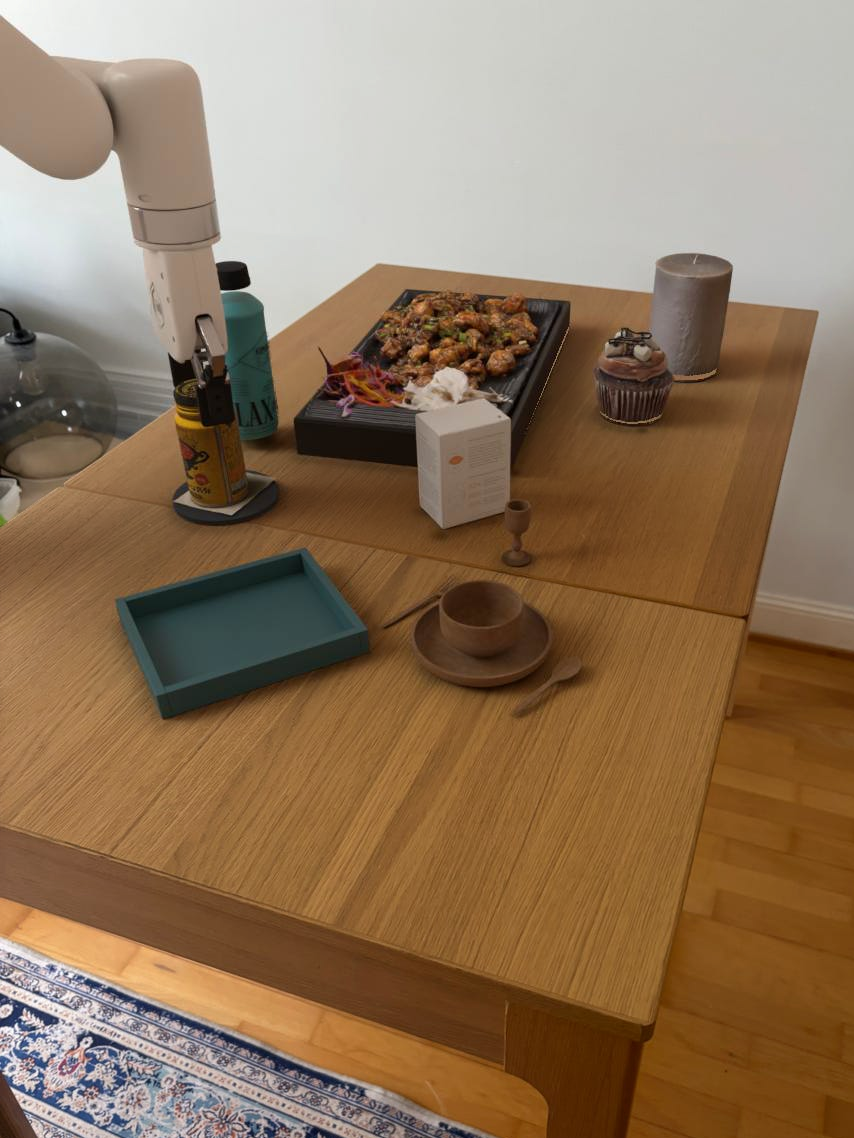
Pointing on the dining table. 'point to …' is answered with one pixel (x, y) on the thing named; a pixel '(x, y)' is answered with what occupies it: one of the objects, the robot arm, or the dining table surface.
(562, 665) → the place setting
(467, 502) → the small box
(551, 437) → the dining table surface
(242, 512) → the mat
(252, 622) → the tray
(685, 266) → the pillar candle
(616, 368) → the cupcake
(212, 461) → the condiment
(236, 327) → the beverage bottle
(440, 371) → the food platter
